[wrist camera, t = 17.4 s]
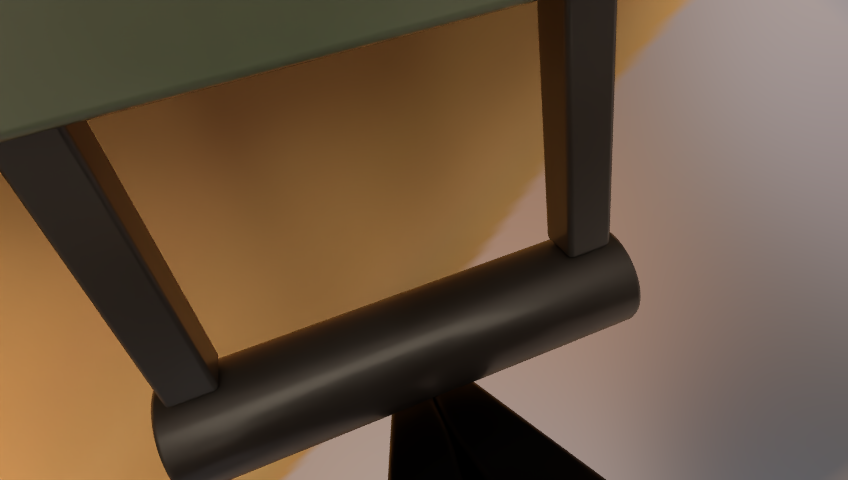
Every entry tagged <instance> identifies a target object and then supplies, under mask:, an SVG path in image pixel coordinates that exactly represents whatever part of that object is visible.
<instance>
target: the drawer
mask: <svg viewBox="0 0 848 480" xmlns="http://www.w3.org/2000/svg"><path fill="white" fill-rule="evenodd" d="M534 1H537V11H538V32H539V53H540V75H541V96H542V118H543V139H544V160H545V182H546V203H547V223H548V224H547V225H548V236H549V238H550V240H547V241H544V242H542V243H539V244H536V245H533V246H530V247H528V248H525V249H522V250H519V251H517V252H514V253H511V254H508V255H505V256H503V257H500V258H497V259H494V260H492V261H489V262H486V263H483V264H480V265H478V266H475V267H472V268H469V269H466V270H464V271H461V272H458V273H455V274H453V275H450V276H447V277H444V278H441V279H439V280H436V281H433V282H430V283H428V284H425V285H422V286H419V287H416V288H414V289H411V290H408V291H405V292H403V293H400V294H397V295H394V296H391V297H389V298H386V299H383V300H380V301H378V302H375V303H372V304H369V305H366V306H364V307H361V308H358V309H355V310H353V311H350V312H347V313H344V314H341V315H339V316H336V317H333V318H330V319H328V320H325V321H322V322H319V323H316V324H314V325H311V326H308V327H305V328H303V329H300V330H297V331H294V332H291V333H289V334H286V335H283V336H280V337H278V338H275V339H272V340H269V341H266V342H264V343H261V344H258V345H255V346H253V347H250V348H247V349H244V350H241V351H239V352H236V353H233V354H230V355H228V356H225V357H222V358H219V359H218V354H217V352H216V350H215V348H214V347H213V345H212V343H211V341H210V340H209V338H208V336H207V334H206V333H205V331H204V329H203V327H202V325H201V324H200V322H199V320H198V318H197V317H196V315H195V313H194V311H193V309H192V308H191V306H190V304H189V302H188V301H187V299H186V297H185V295H184V294H183V292H182V290H181V288H180V286H179V285H178V283H177V281H176V279H175V278H174V276H173V274H172V272H171V270H170V269H169V267H168V265H167V263H166V262H165V260H164V258H163V256H162V254H161V253H160V251H159V249H158V247H157V246H156V244H155V242H154V240H153V239H152V237H151V235H150V233H149V231H148V230H147V228H146V226H145V224H144V223H143V221H142V219H141V217H140V215H139V214H138V212H137V210H136V208H135V207H134V205H133V203H132V201H131V199H130V198H129V196H128V194H127V192H126V191H125V189H124V187H123V185H122V184H121V182H120V180H119V178H118V176H117V175H116V173H115V171H114V169H113V168H112V166H111V164H110V162H109V160H108V159H107V157H106V155H105V153H104V152H103V150H102V148H101V146H100V144H99V143H98V141H97V139H96V137H95V136H94V134H93V132H92V130H91V129H90V127H89V125H88V123H87V121H86V120H89V119H93V118H97V117H101V116H104V115H108V114H112V113H116V112H119V111H123V110H127V109H131V108H134V107H138V106H142V105H146V104H150V103H153V102H157V101H161V100H165V99H168V98H172V97H176V96H180V95H183V94H187V93H191V92H195V91H199V90H202V89H206V88H210V87H214V86H217V85H221V84H225V83H229V82H232V81H236V80H240V79H244V78H248V77H251V76H255V75H259V74H263V73H266V72H270V71H274V70H278V69H281V68H285V67H289V66H293V65H297V64H300V63H304V62H308V61H312V60H315V59H319V58H323V57H327V56H331V55H334V54H338V53H342V52H346V51H349V50H353V49H357V48H361V47H364V46H368V45H372V44H376V43H380V42H383V41H387V40H391V39H395V38H398V37H402V36H406V35H410V34H413V33H417V32H421V31H425V30H429V29H432V28H436V27H440V26H444V25H447V24H451V23H455V22H459V21H462V20H466V19H470V18H474V17H478V16H481V15H485V14H489V13H493V12H496V11H500V10H504V9H508V8H511V7H515V6H519V5H523V4H527V3H530V2H534ZM616 21H617V0H0V172H1V174H2V175H3V176H4V178H5V179H6V181H7V182H8V183H9V185H10V186H11V188H12V189H13V191H14V192H15V193H16V195H17V196H18V198H19V199H20V201H21V202H22V203H23V205H24V206H25V208H26V209H27V211H28V212H29V213H30V215H31V216H32V218H33V219H34V221H35V222H36V223H37V225H38V226H39V228H40V229H41V231H42V232H43V233H44V235H45V236H46V238H47V239H48V241H49V242H50V243H51V245H52V246H53V248H54V249H55V251H56V252H57V253H58V255H59V256H60V258H61V259H62V260H63V262H64V263H65V265H66V266H67V268H68V269H69V270H70V272H71V273H72V275H73V276H74V278H75V279H76V280H77V282H78V283H79V285H80V286H81V288H82V289H83V290H84V292H85V293H86V295H87V296H88V298H89V299H90V300H91V302H92V303H93V305H94V306H95V308H96V309H97V310H98V312H99V313H100V315H101V316H102V318H103V319H104V320H105V322H106V323H107V325H108V326H109V327H110V329H111V330H112V332H113V333H114V335H115V336H116V337H117V339H118V340H119V342H120V343H121V345H122V346H123V347H124V349H125V350H126V352H127V353H128V355H129V356H130V357H131V359H132V360H133V362H134V363H135V365H136V366H137V367H138V369H139V370H140V372H141V373H142V375H143V376H144V377H145V379H146V380H147V382H148V383H149V385H150V386H151V387H152V389H153V390H154V391H153V394H152V401H151V419H152V428H153V434H154V438H155V443H156V446H157V450H158V453H159V456H160V459H161V461H162V464H163V466H164V468H165V470H166V472H167V474H168V476H169V478H170V479H171V480H231V479H233V478H236V477H238V476H241V475H243V474H246V473H248V472H251V471H253V470H256V469H258V468H261V467H263V466H266V465H268V464H271V463H273V462H276V461H278V460H280V459H283V458H285V457H288V456H290V455H293V454H295V453H298V452H300V451H303V450H305V449H308V448H310V447H313V446H315V445H318V444H320V443H323V442H325V441H328V440H330V439H333V438H335V437H337V436H340V435H342V434H345V433H347V432H350V431H352V430H355V429H357V428H360V427H362V426H365V425H367V424H370V423H372V422H374V421H377V420H380V419H382V418H384V417H387V416H389V415H392V414H394V413H397V412H399V411H402V410H404V409H407V408H409V407H412V406H414V405H417V404H419V403H422V402H424V401H427V400H429V399H432V398H434V397H437V396H439V395H442V394H444V393H447V392H449V391H451V390H454V389H456V388H459V387H461V386H464V385H466V384H469V383H471V382H474V381H476V380H479V379H481V378H484V377H486V376H489V375H491V374H493V373H496V372H498V371H501V370H503V369H506V368H508V367H511V366H513V365H516V364H518V363H521V362H523V361H526V360H528V359H531V358H533V357H536V356H538V355H541V354H543V353H545V352H548V351H550V350H553V349H556V348H558V347H561V346H563V345H565V344H568V343H570V342H573V341H575V340H578V339H580V338H583V337H585V336H588V335H590V334H593V333H595V332H597V331H600V330H602V329H605V328H607V327H610V326H612V325H615V324H617V323H620V322H622V321H625V320H627V319H630V318H631V317H633V315H634V314H635V313H636V312H637V310H638V308H639V305H640V286H639V281H638V277H637V274H636V271H635V268H634V266H633V263H632V261H631V259H630V257H629V255H628V253H627V252H626V250H625V249H624V247H623V246H622V244H621V243H620V242H619V240H618V239H617V238H616V237H615V236H614V235H613V234H612V233H610V201H611V172H612V142H613V112H614V111H613V110H614V109H613V108H614V81H615V51H616Z"/></svg>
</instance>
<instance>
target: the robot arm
mask: <svg viewBox="0 0 848 480" xmlns="http://www.w3.org/2000/svg"><path fill="white" fill-rule="evenodd" d="M390 438H391V439H390V455H389V473H388V480H606V479H604V478H603V477H602V476H600V475H599V474H598V473H596V472H595V471H594V470H592V469H591V468H590V467H588V466H587V465H585V464H584V463H583V462H581V461H580V460H579V459H577V458H576V457H575V456H573V455H572V454H570V453H569V452H568V451H567V450H565V449H564V448H562V447H561V446H560V445H558V444H557V443H556V442H554V441H553V440H552V439H550V438H549V437H548V436H546V435H545V434H544V433H542V432H541V431H539V430H538V429H537V428H535V427H534V426H533V425H531V424H530V423H529V422H527V421H526V420H525V419H523V418H522V417H521V416H519V415H518V414H517V413H515V412H514V411H512V410H511V409H510V408H508V407H507V406H506V405H504V404H503V403H502V402H500V401H499V400H498V399H496V398H495V397H494V396H492V395H491V394H489V393H488V392H487V391H485V390H484V389H483V388H481V387H480V386H479V385H477V384H476V383H475V382H471V383H469V384H466V385H464V386H461V387H459V388H456V389H454V390H451V391H449V392H447V393H444V394H442V395H439V396H437V397H434V398H432V399H429V400H427V401H424V402H422V403H419V404H417V405H414V406H412V407H409V408H407V409H404V410H402V411H399V412H397V413H394V414H392V420H391V437H390Z"/></svg>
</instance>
